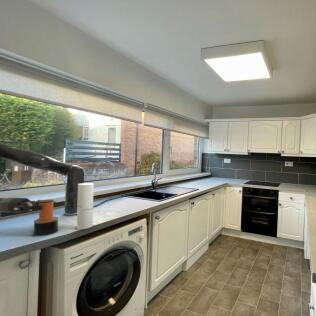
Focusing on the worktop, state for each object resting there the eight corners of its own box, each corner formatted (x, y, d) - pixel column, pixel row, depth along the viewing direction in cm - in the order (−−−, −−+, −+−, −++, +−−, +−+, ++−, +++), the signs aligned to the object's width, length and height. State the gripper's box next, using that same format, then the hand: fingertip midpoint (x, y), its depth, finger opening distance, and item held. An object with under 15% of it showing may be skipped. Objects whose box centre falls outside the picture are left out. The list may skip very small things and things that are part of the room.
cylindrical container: (82, 224, 116) (83, 182, 116) (95, 224, 117) (96, 183, 116) (73, 229, 109) (74, 184, 109) (86, 229, 110) (88, 185, 109)
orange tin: (50, 217, 107) (50, 199, 106) (55, 218, 104) (55, 200, 104) (36, 219, 102) (37, 200, 102) (41, 221, 100) (42, 202, 99)
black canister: (52, 227, 109) (52, 215, 109) (61, 231, 106) (61, 218, 106) (29, 233, 101) (30, 220, 101) (38, 237, 97) (39, 223, 97)
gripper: (-1, 201, 94) (36, 201, 96) (27, 194, 108) (59, 195, 110) (-1, 216, 94) (36, 216, 96) (27, 208, 109) (59, 208, 110)
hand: (48, 205), depth 103 cm, fingers open, 8 cm apart
